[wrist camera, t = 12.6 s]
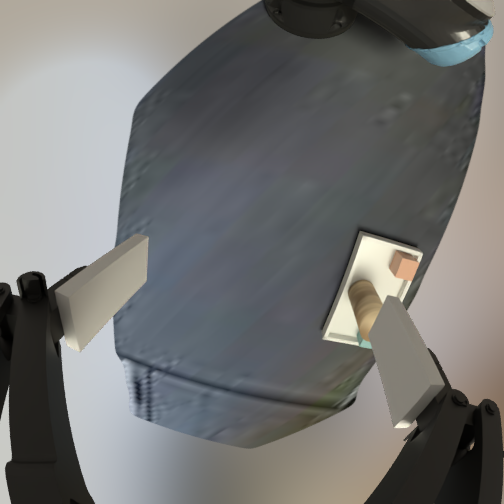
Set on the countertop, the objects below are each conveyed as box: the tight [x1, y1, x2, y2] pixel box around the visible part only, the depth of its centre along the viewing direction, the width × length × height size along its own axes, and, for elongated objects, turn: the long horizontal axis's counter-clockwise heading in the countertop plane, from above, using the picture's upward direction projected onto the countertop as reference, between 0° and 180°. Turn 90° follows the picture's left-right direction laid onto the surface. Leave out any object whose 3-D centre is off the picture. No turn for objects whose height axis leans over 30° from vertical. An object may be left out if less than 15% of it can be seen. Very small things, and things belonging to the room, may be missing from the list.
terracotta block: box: [389, 250, 419, 281], centre depth 42 cm, size 4×4×4 cm
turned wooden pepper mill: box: [348, 280, 383, 342], centre depth 42 cm, size 5×5×11 cm
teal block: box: [356, 331, 372, 349], centre depth 48 cm, size 4×4×4 cm
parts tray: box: [322, 231, 423, 345], centre depth 46 cm, size 21×12×2 cm, turn 168°
